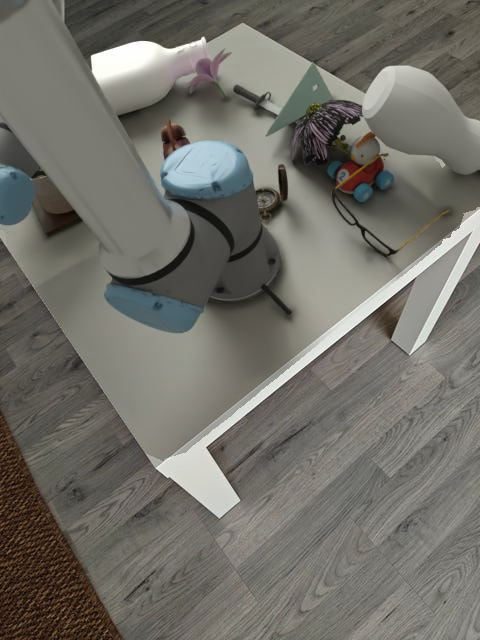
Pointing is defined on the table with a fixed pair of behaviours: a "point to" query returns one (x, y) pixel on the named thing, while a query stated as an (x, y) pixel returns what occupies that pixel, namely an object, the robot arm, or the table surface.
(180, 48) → the bottle
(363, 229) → the eyeglasses
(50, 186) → the planter
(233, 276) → the robot arm
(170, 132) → the alarm clock
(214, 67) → the lily
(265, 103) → the knife
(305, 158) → the decorative flower
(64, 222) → the brown wooden square plate
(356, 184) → the toy car
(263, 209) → the compass
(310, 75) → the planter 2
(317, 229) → the table surface
